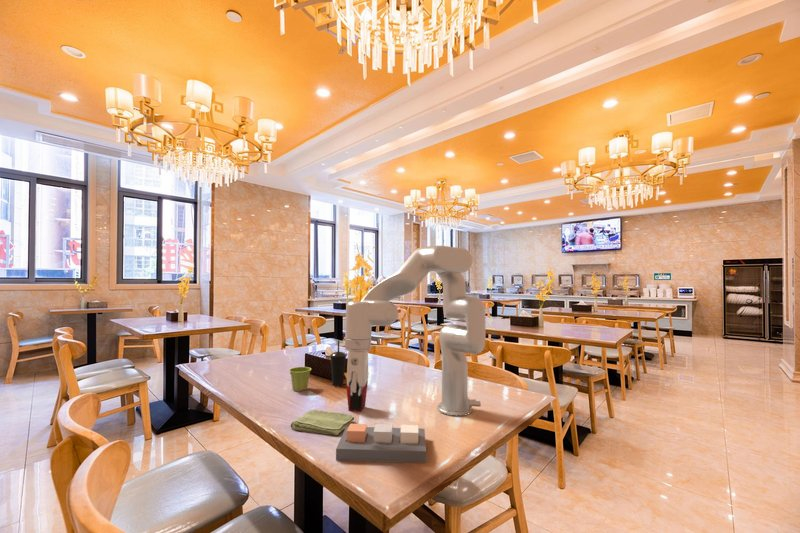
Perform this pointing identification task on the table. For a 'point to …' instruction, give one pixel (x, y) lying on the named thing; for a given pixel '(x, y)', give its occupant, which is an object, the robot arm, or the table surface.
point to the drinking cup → (338, 367)
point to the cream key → (409, 434)
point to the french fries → (364, 391)
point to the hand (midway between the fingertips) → (355, 408)
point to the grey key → (383, 433)
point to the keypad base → (382, 448)
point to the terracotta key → (357, 433)
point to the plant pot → (300, 378)
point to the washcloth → (322, 422)
